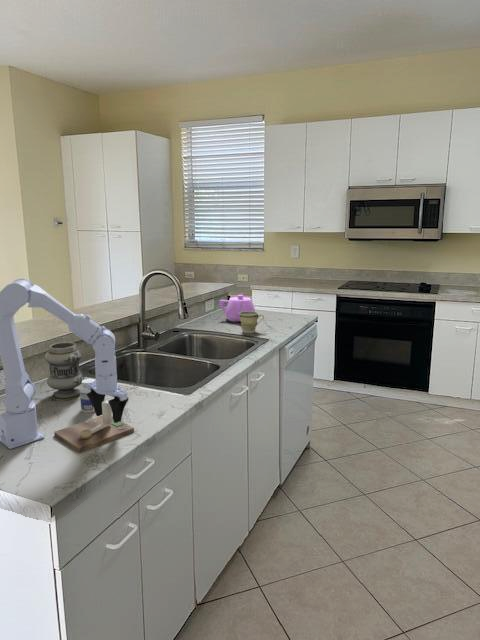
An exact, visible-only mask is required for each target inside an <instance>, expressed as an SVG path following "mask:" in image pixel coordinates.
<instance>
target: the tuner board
mask: <svg viewBox="0 0 480 640" xmlns="http://www.w3.org/2000/svg"><path fill="white" fill-rule="evenodd" d="M102 423H103V416H102V415H100V416H96V417H94V418H92V419H88V420H84V421H83V422H79V423H77V424H73V425H70V426H68V427H64V428H60V429H59V430H55V431H54V433H53V434H54V437H55V438H57V439H59V440H60V441H61V442H64V443H65V444H66V445H68V446H69V447H71V448H72V449H74V450H75V451H76V452H78V453H82V452H84V451H87V450H90V449H92V448H95V447H99V446H101V445H103V444H106V443H109V442H111V441H113V440H115V439H119V438H122V437H124V436H127V435H129V434H132V433H134V432H135V427H133V426H131V425H129V424H127V423H125V422H124V421H122V420H121V421H119V422H117V423H114V421H113V416H112V424H110V425H108V426H106V427H104V428H102V429H100V430H98V431H96V432H94V433H92V436H91V437H90V438H87V439H82V438H80V432H81V431H83V430H90V429H92V428H94V427H96V426H98V425H100V424H102Z"/></svg>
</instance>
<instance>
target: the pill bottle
mask: <svg viewBox="0 0 480 640" xmlns="http://www.w3.org/2000/svg"><path fill="white" fill-rule="evenodd" d="M91 382H96V379H93V378H86V379H85V378H84V380H82V384H81V387H80V389H79V390H80V396H79V399H80V409H81V412H83V413H93V412H95V410H94V407H93V405H92V403H91V401H90V399H89V398H88V397H87V393H90V391H91V390H88V383H91Z"/></svg>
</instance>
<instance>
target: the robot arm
mask: <svg viewBox="0 0 480 640" xmlns="http://www.w3.org/2000/svg"><path fill="white" fill-rule="evenodd" d="M27 303H28V305H27V308H41V309H43V310H45V312H48V313H49V314H51V315H52V316H54V317H56V318H57V319H59V320H61V321H62V322H64V323H65V324H67V326H68V331H69V332H71V333H72V334H74V336H76V337H78V338H79V339H80V340H82V341H83V342H86V343H87V344H88V345H92V349H93V351H94V355H95V356H94V367H95V368H94V369H95V371H94V373H95V382H91V383H88V390H91V391H90V393H87V397H88V398H89V399H90V401H91V403H92V405H93V407H94V410H95V411H94V412H95V416H96V417H100V416H102V402H103V401H105V398H106V396H109V397H112V399H110V400H107V401H108V403H109V404H110V407H111V409H112V417H113V421H114V423H117V422H119V421H122V420H123V419H122V418H123V413H124V409H125V407H126V404H127V403H128V401H129V397H128V392H127V391H124V390H123V389H122V388H120V387H121V385H120V384H119V383H118V371H117V357H116V349H115V348H116V336H115V334H114V333H113V332H112V331H111V329H108V328H106V327H105V326H103V325H102V326H101V325H100V324H98V323H96V322H95V321H94V320H92V316H90V314H86V315H85V314H83V313H74V312H73V311H72V310H70V309H69V308H68V307H67V306H65V305H64V304H63V303H61V301H58V299H56V298H55V297H53V296H52V295H51V294H49V293H48V292H47V291H46V290H44V289H43V288H42V287H40V286H39V285H37V284H33V282H31V281H30V280H29V279H26V278H18V279H15V280H14V281H12V283H9V284H6V285H5V286H4V288H3V289H1V290H0V359H1V360H0V361H1V364H2V369H3V373H4V376H5V377H4V378H5V382H4V393H5V395H4V399H3V404H4V407H5V409H6V410H5V411H3V412H2V413H0V442H1V443H2V444H3V445H4V446H6V447H7V448H8V449H10V450H12V449H14V448H17V447H18V448H19V447H21V446H23V445H24V446H25V445H27V444H29V443H32V442H36V441H39V440H41V439H44V438H45V435H43V434H42V433H41V432H40V431H39V428H38V427H39V426H38V419H37V418H38V417H37V407H36V403H35V402H34V400H33V398H34V397H35V394H36V393H37V391H36V386H35V384H34V383H33V381H31V378H30V375H29V374H28V373H27V371H26V368H25V363H24V359H23V354H22V350H21V346H20V340H19V335H18V332H17V327H16V322H15V319H14V316H15V315H16V314H17V312H18V311H19V310H20V309H21V308H23V307H24V306H25V305H26V304H27Z"/></svg>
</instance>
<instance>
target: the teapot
mask: <svg viewBox="0 0 480 640" xmlns="http://www.w3.org/2000/svg"><path fill="white" fill-rule="evenodd" d="M236 296H237V297H236ZM236 296H235V297H230V298H229V300H227V299H220V300H219V302H218V303H219V306H220V308H221V309H222V310H223V311H224V312H225V317H226V318H227V320H228V321H230V322H233V323H237V322H241V320H240V314H239V313H240V312H246V311H252V312H256V311H255V306H254V303H253V301H252V298H250V297H245V296H244V294H237V295H236ZM224 303H226V308H225V305H224Z"/></svg>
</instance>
